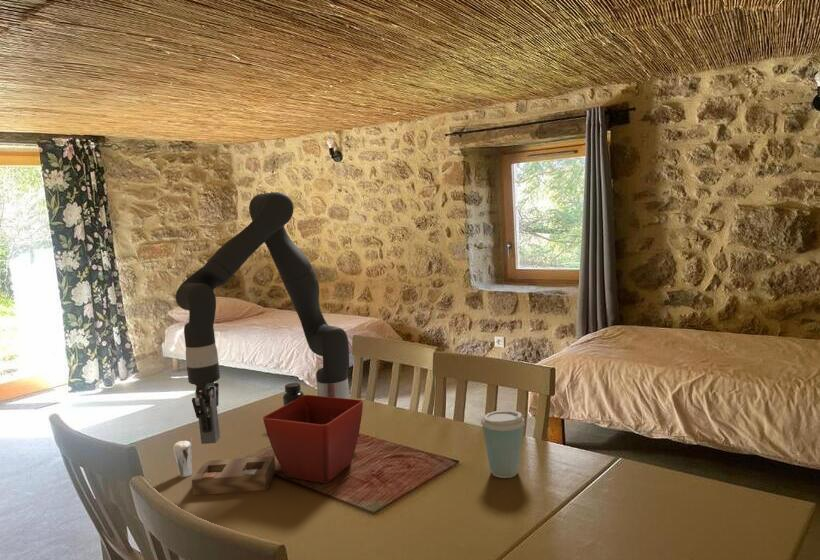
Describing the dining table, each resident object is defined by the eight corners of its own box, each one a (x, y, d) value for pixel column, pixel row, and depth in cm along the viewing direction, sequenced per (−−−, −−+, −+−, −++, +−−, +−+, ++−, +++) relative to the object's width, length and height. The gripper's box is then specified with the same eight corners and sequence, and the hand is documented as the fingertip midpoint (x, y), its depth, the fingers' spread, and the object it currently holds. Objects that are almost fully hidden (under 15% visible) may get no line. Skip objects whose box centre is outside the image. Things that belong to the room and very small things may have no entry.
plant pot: (369, 459, 163) (364, 399, 161) (331, 492, 146) (325, 425, 144) (310, 451, 171) (304, 394, 169) (267, 481, 154) (260, 418, 152)
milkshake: (191, 478, 159) (187, 442, 157) (173, 478, 160) (168, 442, 159) (200, 471, 163) (196, 435, 162) (182, 470, 164) (178, 435, 163)
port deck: (275, 470, 160) (274, 454, 160) (266, 489, 150) (264, 473, 149) (207, 475, 160) (205, 459, 160) (193, 495, 149) (191, 478, 149)
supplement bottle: (286, 418, 200) (282, 382, 199) (307, 415, 201) (303, 380, 199) (284, 425, 193) (280, 389, 192) (305, 423, 194) (302, 386, 193)
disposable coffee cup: (474, 475, 150) (471, 416, 148) (499, 459, 157) (496, 403, 155) (511, 486, 142) (508, 425, 140) (535, 469, 150) (532, 411, 148)
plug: (220, 437, 155) (215, 392, 154) (215, 442, 152) (210, 397, 150) (206, 438, 155) (201, 393, 154) (201, 443, 152) (196, 398, 150)
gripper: (208, 369, 144) (216, 438, 146) (225, 354, 158) (232, 418, 160) (177, 371, 144) (185, 440, 146) (196, 356, 158) (204, 419, 160)
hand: (209, 428), depth 153 cm, fingers closed on plug, 3 cm apart
